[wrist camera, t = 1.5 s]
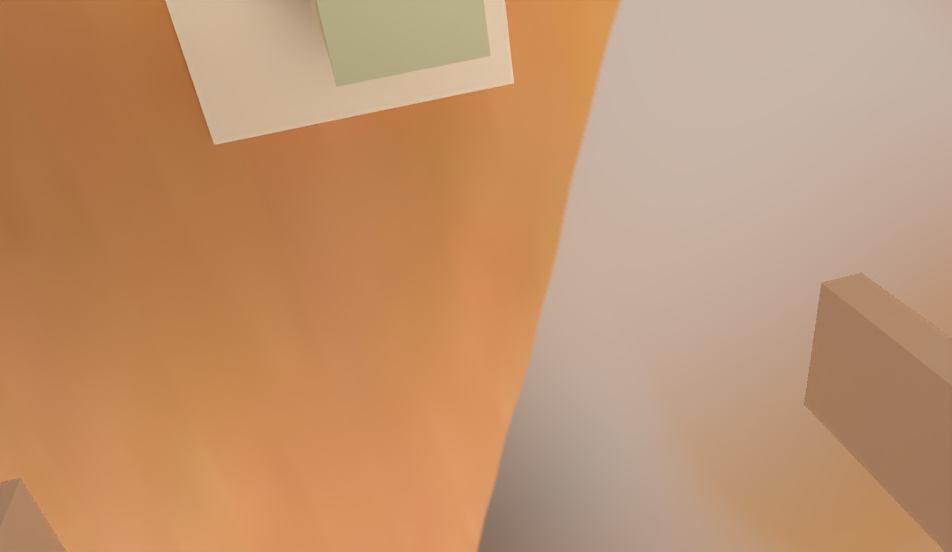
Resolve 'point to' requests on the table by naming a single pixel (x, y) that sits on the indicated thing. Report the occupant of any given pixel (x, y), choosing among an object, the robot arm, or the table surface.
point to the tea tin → (398, 35)
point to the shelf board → (304, 68)
